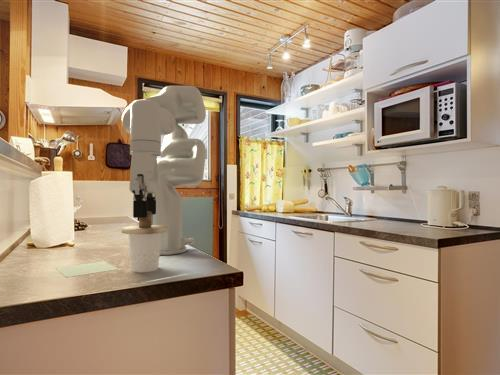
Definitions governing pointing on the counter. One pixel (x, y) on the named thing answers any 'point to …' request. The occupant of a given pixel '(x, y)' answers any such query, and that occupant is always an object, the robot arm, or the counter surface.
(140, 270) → the white cup
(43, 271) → the counter surface
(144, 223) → the lid
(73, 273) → the mat
